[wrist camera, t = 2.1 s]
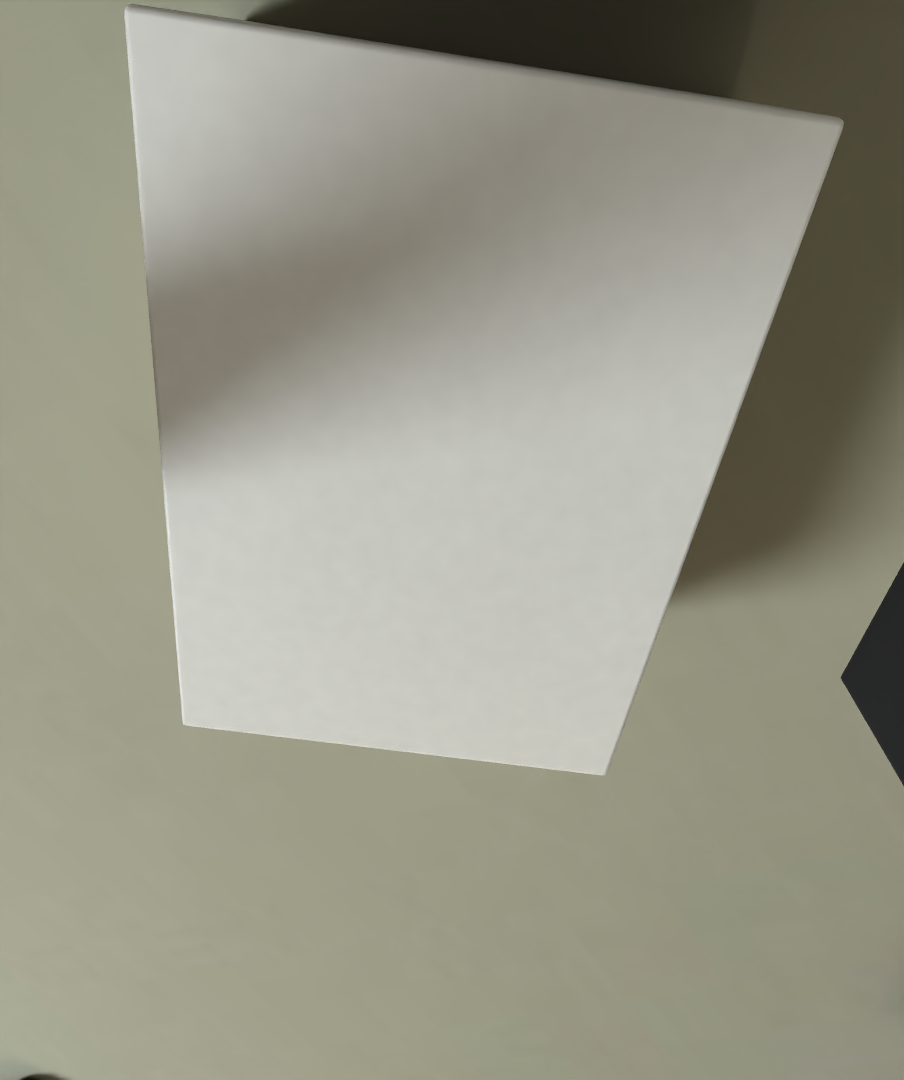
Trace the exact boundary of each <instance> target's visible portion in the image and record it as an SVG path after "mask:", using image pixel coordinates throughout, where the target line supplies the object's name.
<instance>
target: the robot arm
mask: <svg viewBox="0 0 904 1080" xmlns="http://www.w3.org/2000/svg"><path fill="white" fill-rule="evenodd" d="M841 679H842V681H843V683H844V684H845V686H846V688H847V689H848V691H849V693H850V695H851V696H852V698H853V700H854V701H855V703H856V705H857V707H858V708H859V710H860V712H861V713H862V715H863V717H864V719H865V720H866V722H867V724H868V725H869V727H870V729H871V731H872V732H873V734H874V736H875V737H876V739H877V741H878V743H879V744H880V746H881V748H882V749H883V751H884V753H885V755H886V756H887V758H888V760H889V761H890V763H891V765H892V767H893V768H894V770H895V772H896V773H897V775H898V777H899V779H900V780H901V782H902V784H903V785H904V563H903V565H902V567H901V568H900V570H899V572H898V574H897V576H896V577H895V579H894V581H893V583H892V585H891V587H890V588H889V590H888V592H887V594H886V596H885V598H884V599H883V601H882V603H881V605H880V607H879V608H878V610H877V612H876V614H875V616H874V618H873V619H872V621H871V623H870V625H869V627H868V629H867V630H866V632H865V634H864V636H863V638H862V639H861V641H860V643H859V645H858V647H857V649H856V650H855V652H854V654H853V656H852V658H851V660H850V661H849V663H848V665H847V667H846V669H845V671H844V672H843V674H842V676H841Z"/></svg>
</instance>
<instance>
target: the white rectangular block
mask: <svg viewBox="0 0 904 1080" xmlns="http://www.w3.org/2000/svg"><path fill="white" fill-rule="evenodd" d="M124 15H125V27H126V40H127V52H128V64H129V76H130V88H131V100H132V113H133V125H134V137H135V149H136V161H137V173H138V185H139V198H140V210H141V222H142V234H143V246H144V258H145V271H146V283H147V295H148V307H149V319H150V331H151V343H152V356H153V368H154V380H155V392H156V404H157V416H158V429H159V441H160V453H161V465H162V477H163V489H164V501H165V514H166V526H167V538H168V550H169V562H170V574H171V587H172V599H173V611H174V623H175V635H176V647H177V659H178V672H179V684H180V696H181V708H182V720H183V724H184V725H187V726H195V727H203V728H212V729H220V730H228V731H237V732H245V733H253V734H262V735H270V736H278V737H287V738H295V739H303V740H312V741H320V742H328V743H337V744H345V745H354V746H362V747H370V748H379V749H387V750H395V751H404V752H412V753H420V754H429V755H437V756H445V757H454V758H462V759H470V760H479V761H487V762H495V763H504V764H512V765H520V766H529V767H537V768H545V769H554V770H562V771H570V772H579V773H587V774H595V775H606V774H607V771H608V769H609V766H610V763H611V760H612V758H613V755H614V752H615V749H616V747H617V744H618V741H619V738H620V736H621V733H622V730H623V728H624V725H625V722H626V719H627V717H628V714H629V711H630V708H631V706H632V703H633V700H634V698H635V695H636V692H637V689H638V687H639V684H640V681H641V678H642V676H643V673H644V670H645V667H646V665H647V662H648V659H649V657H650V654H651V651H652V648H653V646H654V643H655V640H656V637H657V635H658V632H659V629H660V626H661V624H662V621H663V618H664V616H665V613H666V610H667V607H668V605H669V602H670V599H671V596H672V594H673V591H674V588H675V586H676V583H677V580H678V577H679V575H680V572H681V569H682V566H683V564H684V561H685V558H686V555H687V553H688V550H689V547H690V545H691V542H692V539H693V536H694V534H695V531H696V528H697V525H698V523H699V520H700V517H701V514H702V512H703V509H704V506H705V504H706V501H707V498H708V495H709V493H710V490H711V487H712V484H713V482H714V479H715V476H716V474H717V471H718V468H719V465H720V463H721V460H722V457H723V454H724V452H725V449H726V446H727V443H728V441H729V438H730V435H731V433H732V430H733V427H734V424H735V422H736V419H737V416H738V413H739V411H740V408H741V405H742V403H743V400H744V397H745V394H746V392H747V389H748V386H749V383H750V381H751V378H752V375H753V372H754V370H755V367H756V364H757V362H758V359H759V356H760V353H761V351H762V348H763V345H764V342H765V340H766V337H767V334H768V331H769V329H770V326H771V323H772V321H773V318H774V315H775V312H776V310H777V307H778V304H779V301H780V299H781V296H782V293H783V291H784V288H785V285H786V282H787V280H788V277H789V274H790V271H791V269H792V266H793V263H794V260H795V258H796V255H797V252H798V250H799V247H800V244H801V241H802V239H803V236H804V233H805V230H806V228H807V225H808V222H809V219H810V217H811V214H812V211H813V209H814V206H815V203H816V200H817V198H818V195H819V192H820V189H821V187H822V184H823V181H824V179H825V176H826V173H827V170H828V168H829V165H830V162H831V159H832V157H833V154H834V151H835V148H836V146H837V143H838V140H839V138H840V135H841V132H842V129H843V123H844V122H843V120H841V119H840V118H839V117H834V116H828V115H822V114H816V113H811V112H805V111H799V110H793V109H788V108H782V107H776V106H770V105H765V104H759V103H753V102H747V101H742V100H736V99H730V98H724V97H718V96H711V95H705V94H699V93H693V92H686V91H680V90H674V89H668V88H662V87H655V86H649V85H643V84H637V83H630V82H624V81H618V80H612V79H606V78H599V77H593V76H587V75H581V74H574V73H568V72H562V71H556V70H549V69H543V68H537V67H531V66H525V65H518V64H512V63H506V62H500V61H493V60H487V59H481V58H475V57H469V56H462V55H456V54H450V53H444V52H437V51H431V50H425V49H419V48H412V47H406V46H400V45H394V44H388V43H381V42H375V41H369V40H363V39H356V38H350V37H344V36H338V35H332V34H325V33H319V32H313V31H307V30H300V29H294V28H288V27H282V26H275V25H269V24H263V23H257V22H251V21H244V20H238V19H231V18H224V17H217V16H211V15H204V14H197V13H190V12H183V11H177V10H170V9H163V8H156V7H149V6H142V5H136V4H130V5H128V6H126V7H125V12H124Z"/></svg>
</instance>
